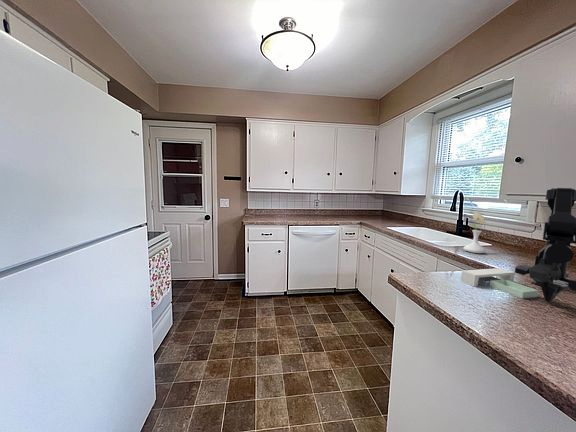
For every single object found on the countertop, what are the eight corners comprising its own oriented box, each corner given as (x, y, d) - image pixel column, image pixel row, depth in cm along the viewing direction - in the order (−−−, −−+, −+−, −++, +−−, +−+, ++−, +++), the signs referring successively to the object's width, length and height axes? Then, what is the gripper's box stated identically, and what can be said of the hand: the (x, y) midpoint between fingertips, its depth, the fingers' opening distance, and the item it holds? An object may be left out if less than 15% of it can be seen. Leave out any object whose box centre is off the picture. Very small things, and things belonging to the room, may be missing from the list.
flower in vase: (489, 255, 149) (494, 214, 146) (467, 253, 152) (472, 213, 149) (479, 250, 161) (484, 212, 159) (459, 248, 165) (463, 211, 162)
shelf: (499, 278, 109) (500, 268, 108) (513, 283, 103) (515, 272, 103) (460, 281, 103) (462, 270, 102) (473, 286, 97) (475, 275, 97)
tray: (504, 285, 101) (504, 279, 100) (537, 296, 90) (538, 290, 90) (489, 286, 98) (490, 280, 98) (522, 298, 88) (523, 292, 88)
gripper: (507, 250, 89) (500, 292, 91) (579, 267, 71) (569, 318, 73) (528, 249, 92) (522, 290, 94) (603, 265, 74) (593, 315, 76)
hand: (547, 302), depth 84 cm, fingers closed
